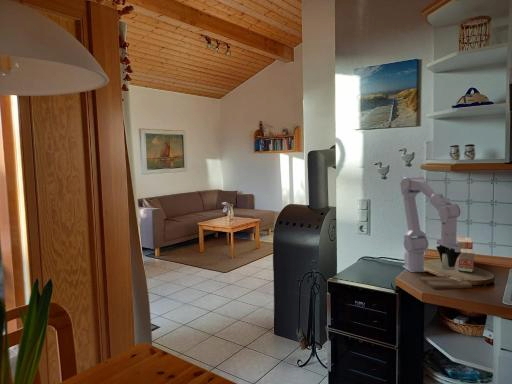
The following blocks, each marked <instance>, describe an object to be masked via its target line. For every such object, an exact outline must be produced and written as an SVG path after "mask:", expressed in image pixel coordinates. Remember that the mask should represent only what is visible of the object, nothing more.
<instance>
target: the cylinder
mask: <svg viewBox="0 0 512 384" xmlns="http://www.w3.org/2000/svg"><path fill="white" fill-rule="evenodd" d="M441 269H442V270H447V271H455V270H456V265H455V266H454V267H449V265H448V257H447V253H443V254H442V263H441Z"/></svg>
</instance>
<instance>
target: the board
mask: <svg viewBox="0 0 512 384" xmlns="http://www.w3.org/2000/svg"><path fill="white" fill-rule="evenodd" d="M446 276H447V275H436V276H434V275H433V276H420V277H419V281H421V282H423V283H424V284H426V285H427V286H429V287H430V288H432V289H434V290H443V289H444V290H445V289H464V288H466V289H467V288H468V289H469V288H473V284H472V283H471V282H469V281H467V280H465V281H464V282H463V281H462V282H461V281H457V280H454V279H451V278H449V277H446Z"/></svg>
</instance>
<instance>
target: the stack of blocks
mask: <svg viewBox="0 0 512 384" xmlns="http://www.w3.org/2000/svg"><path fill="white" fill-rule="evenodd" d="M456 243H458V244H459V245H458V246H459V247H461V253H460V255H459V256H458V258H457V260H456V263H457V262H458V265H457V268H458V267H459V268H465V269H473V270H474V265H475V251H474V249H473V245H474V243H473V240H472V237H466V236H465V237H464V236H456Z"/></svg>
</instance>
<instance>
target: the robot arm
mask: <svg viewBox="0 0 512 384" xmlns="http://www.w3.org/2000/svg"><path fill="white" fill-rule="evenodd" d="M399 185H400V190H401V191H400V192H401V195H402V201H403V206H404V212H405V218H406V225H407V226H406V227H407V230H408V231H407V232H406V233H405V234H404V235H403V247H404V249H405V252H404V261H403V262H404V263H403V264H404V265H402V267H403V268H404V269H405V270H407V271H408V272H410V273H425V272H427V273H428V270H427V269H426V270H427V271H426V270H424V269H425V253H426V250H428V248H429V241H428V239H427V234H426V233H425V232H423V231H422V230H421V227H420V226H421V225H420V219H419V212H418V209H417V208H418V207H417V201H416V197H417V195H419V194H421V193H422V194H423V195H424V196H425V197H427V198H428V199H429V203H430V205H432V206H433V207H434V208H435V209H436V210H437V212H438V216H439V219H440V220H439V221H440V222H441V223H440V224H441V226H440V227H441V231H440V232H441V233H440V239H436V245H437V246H436V247H435V248H436V250H437V251H438V254H439V258H440V262H441V264H442V254H443V253H447V257H448V265H449V267H454V266H455V267H456V264H457V258H458V256H459V255H460V253H461V247H459V246H458V245H459V244H458V243H457V229H458V228H457V226H458V223H457V221H458V218H459V217H460V215H461V208H460V206H459V204H457V203H452V202H451V201H450V200H448V199H447V198H446V197H445V196H444V194H442V193H437V192H436V191H434V189H433V188H432V187H431V186H430V185H429V184H428V179H426V178H425V177H424V176H422V175H421V176H404V177H403V178H402V179H401V180H400V182H399Z"/></svg>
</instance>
